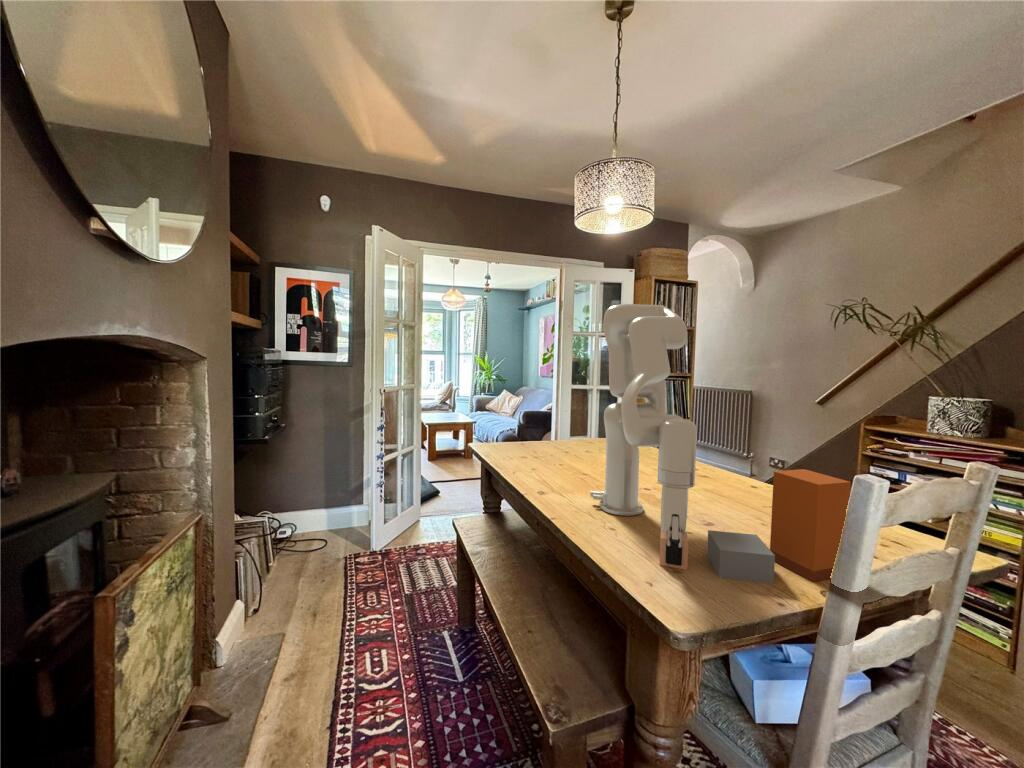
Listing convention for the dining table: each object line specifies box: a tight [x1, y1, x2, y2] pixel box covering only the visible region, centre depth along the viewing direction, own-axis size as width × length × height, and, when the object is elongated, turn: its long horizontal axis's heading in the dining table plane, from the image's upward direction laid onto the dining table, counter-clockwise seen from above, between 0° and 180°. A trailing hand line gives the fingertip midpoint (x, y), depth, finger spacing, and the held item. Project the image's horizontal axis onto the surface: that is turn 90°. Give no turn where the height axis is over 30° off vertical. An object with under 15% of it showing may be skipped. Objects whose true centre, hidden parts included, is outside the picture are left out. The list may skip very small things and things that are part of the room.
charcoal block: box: [706, 529, 776, 585], centre depth 88 cm, size 10×10×6 cm
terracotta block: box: [659, 529, 689, 571], centre depth 90 cm, size 6×6×6 cm
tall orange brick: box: [769, 468, 852, 582], centre depth 88 cm, size 10×9×20 cm
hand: (673, 556), depth 90 cm, fingers closed on terracotta block, 5 cm apart
